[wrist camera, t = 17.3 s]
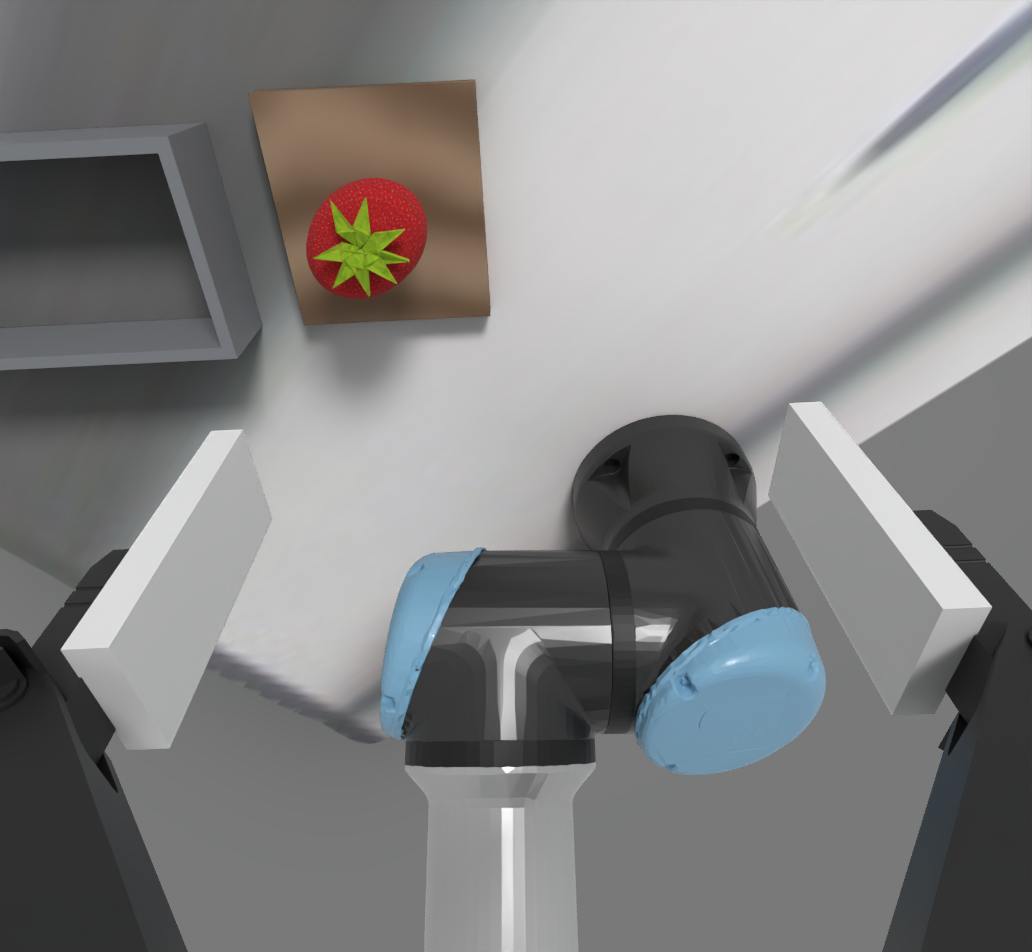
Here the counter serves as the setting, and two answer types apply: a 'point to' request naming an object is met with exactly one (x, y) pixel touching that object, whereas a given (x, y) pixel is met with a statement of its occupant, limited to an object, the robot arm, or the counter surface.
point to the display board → (389, 155)
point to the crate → (206, 237)
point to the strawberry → (366, 238)
